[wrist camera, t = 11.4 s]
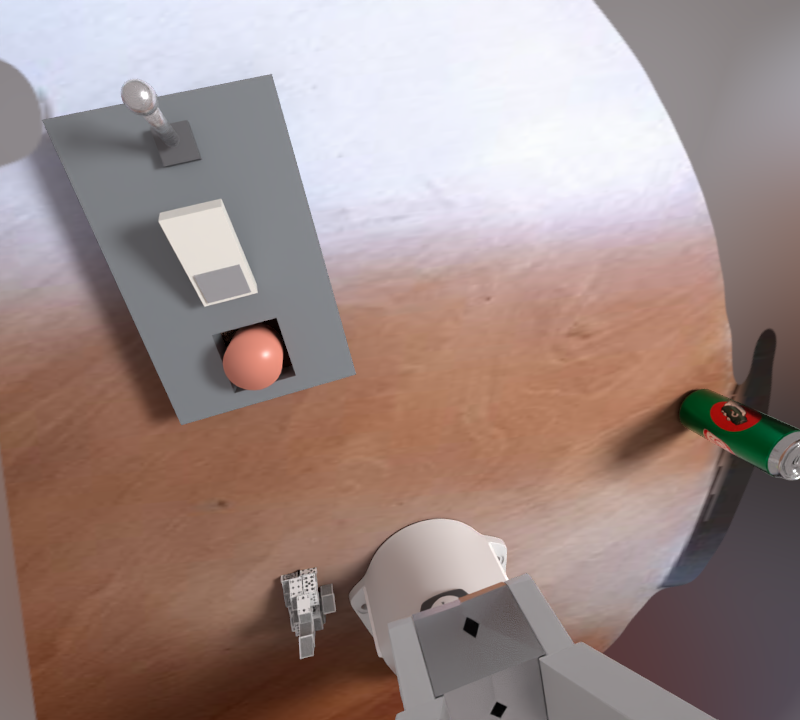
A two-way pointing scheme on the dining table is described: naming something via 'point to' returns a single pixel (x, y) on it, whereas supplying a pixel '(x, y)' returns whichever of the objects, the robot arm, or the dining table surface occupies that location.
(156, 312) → the panel
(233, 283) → the block
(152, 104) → the toggle lever
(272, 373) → the push button
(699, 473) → the dining table surface
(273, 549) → the dining table surface
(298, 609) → the house of cards
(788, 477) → the soda can
